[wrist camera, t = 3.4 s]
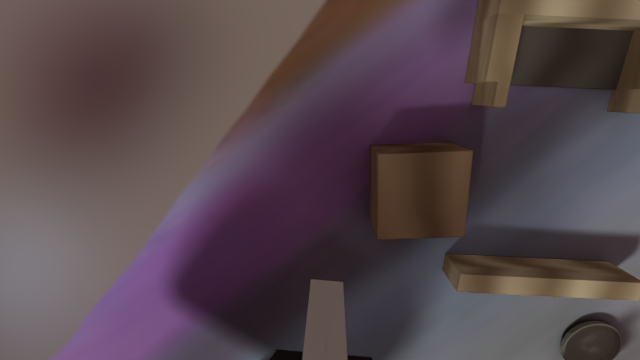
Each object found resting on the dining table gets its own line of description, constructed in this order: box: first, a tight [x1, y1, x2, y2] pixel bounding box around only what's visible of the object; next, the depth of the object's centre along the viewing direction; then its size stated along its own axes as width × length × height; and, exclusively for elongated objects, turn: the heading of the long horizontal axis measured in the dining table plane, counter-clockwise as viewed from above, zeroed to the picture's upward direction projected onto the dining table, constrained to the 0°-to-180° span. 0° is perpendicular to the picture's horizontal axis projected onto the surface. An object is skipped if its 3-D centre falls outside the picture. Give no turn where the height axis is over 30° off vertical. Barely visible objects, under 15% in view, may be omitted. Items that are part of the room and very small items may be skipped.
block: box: [370, 142, 473, 240], centre depth 30 cm, size 8×8×5 cm
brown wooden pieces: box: [443, 0, 640, 301], centre depth 29 cm, size 32×27×4 cm
